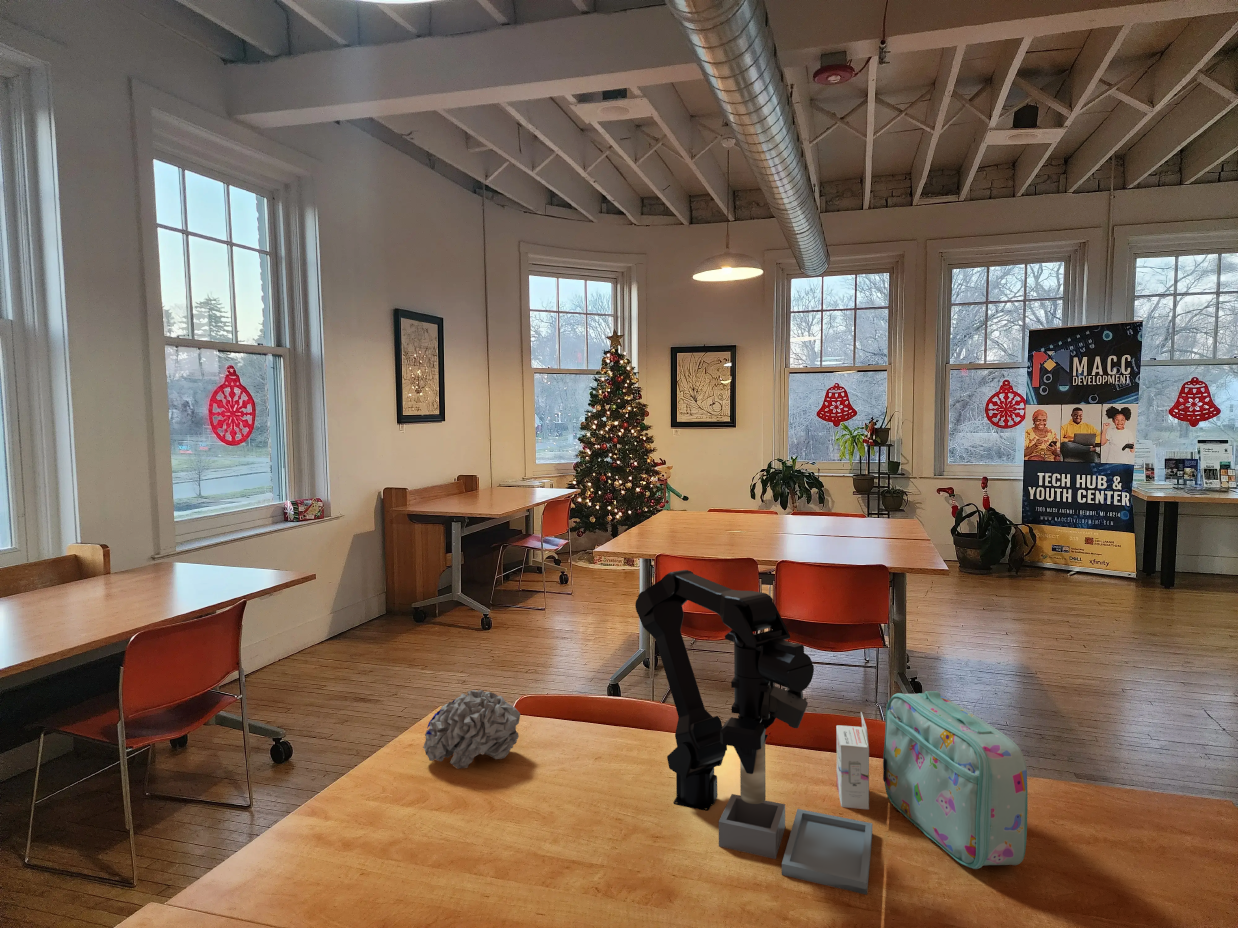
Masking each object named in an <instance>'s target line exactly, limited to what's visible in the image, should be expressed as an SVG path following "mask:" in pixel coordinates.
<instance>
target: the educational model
mask: <svg viewBox="0 0 1238 928" xmlns="http://www.w3.org/2000/svg"><path fill="white" fill-rule="evenodd" d="M520 719H521V713H520V711H518V709H517V708H516V707H515V706H513V705H511V703H508V702H507V701H506V700H505V699H504V696H502V695H497V694H496V693H494V692H492V691H484V690H481V689H479V690H476V689H473V690H469V691H467V694H466V693H461V695H460V696H458V697H456V698H455V699H453V700H452V701H448V703H446V704H444V705H443V706H441V708H440V709H439V711H437V712H436V713H434V715H433V716H432V717H431V719H430V721H429V722H428V724H427V727H426V728H427V730H426V731H425V734H424V736H425V741H424V742H423V747H422V748H423V749H424V752H425V756H426V757H428V760H429V761H431V762H433V761H438V762H443V760H444V759H445V758H448V759H449V758H450V757H451V756H452V758H451V759H450V762H449V764H451V765H452V767H454V768H456V769H457V770H458V769H467V768H469V765H470V764H471V763H473V761H474V758H475V757H476V756H477V757H478V756H479V755H482V756H483V755H486V756H489V757H491V758H493V759H495V760H502V759H505V758H506V757H507V756H508V755H509V753H510V751H511V749H513V748H514V747H513V746H514V745H516V744H517V741H518V739H519V737H520V736H519V731H518V732H517V725H519V724H520Z"/></svg>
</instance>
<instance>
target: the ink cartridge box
mask: <svg viewBox="0 0 1238 928" xmlns="http://www.w3.org/2000/svg"><path fill="white" fill-rule="evenodd" d="M860 718H861V726H854V725H853V726H852V725H838V724H837V725H836V726H835V727H836V728H835V729H836V787H837V788H836V789H837V792H838V797H839V802H840V807H841V808H847V809H848V808H849V809H859V810H860V809H861V810H870V746H869V734H868V728H867V724H866V721H865V718H864V715H863V712H862V711H860Z"/></svg>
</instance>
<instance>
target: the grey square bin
mask: <svg viewBox="0 0 1238 928" xmlns="http://www.w3.org/2000/svg"><path fill="white" fill-rule="evenodd" d="M785 830H786V804H785V803H782V802H781V803H780V802H777V801H776V802H775V801H770V800H767V799H765V801H764V802H762V803H760V804H750V803H747V802H745V801H743V800H742V799H741V794H740V795H738V794H733V793H731V794H730V797H729V799H728V802H727V803H726V805H725V807H724V810H723V812H722V813H721V816H720V818H719V820H718V847H720V848H725V849H728V850H729V849H730V850H734V851H738V852H742V853H748V854H751V855H754V856H755V855H756V856H760V857H764V858H770V859H774V860H776V859H777V856H778V852H779V850H780V846H781V844H782V840H783V836H784V833H785Z"/></svg>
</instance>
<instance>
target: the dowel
mask: <svg viewBox="0 0 1238 928" xmlns="http://www.w3.org/2000/svg"><path fill="white" fill-rule="evenodd" d="M739 762H740V764H739V765H740V766H739V767H740V769H739V771H740V774H739V776H740V779H739V783H740V784H739V785H740V791H739V792H740V796H741V799H742V800H743V801H745V802H747V803H750V804H760V803H762V802H764V801H765V800H767V799H766V797H767V796H766V789H767V787H766V742H765V743H764V744H763V746H762V748H761V749H759V750H758V751H757V756H756V762H755V768H754V773H753V774H748V773H746V771H745V769H744V767H743V765H742V763H741V760H740V759H739Z"/></svg>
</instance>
